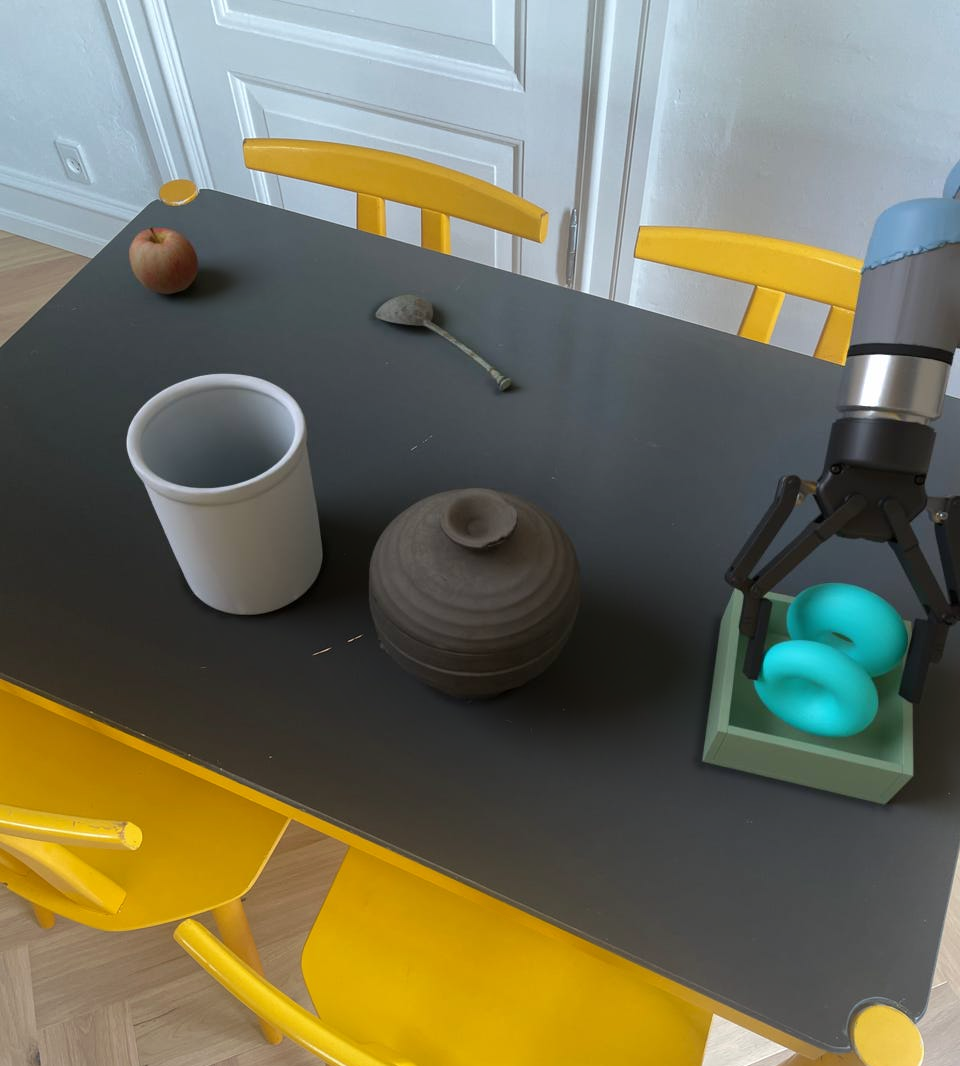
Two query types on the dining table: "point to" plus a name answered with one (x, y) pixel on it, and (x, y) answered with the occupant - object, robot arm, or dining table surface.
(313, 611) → the dining table surface
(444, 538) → the pot
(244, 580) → the utensil holder
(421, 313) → the soupspoon
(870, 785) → the bin
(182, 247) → the apple
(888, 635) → the donuts
